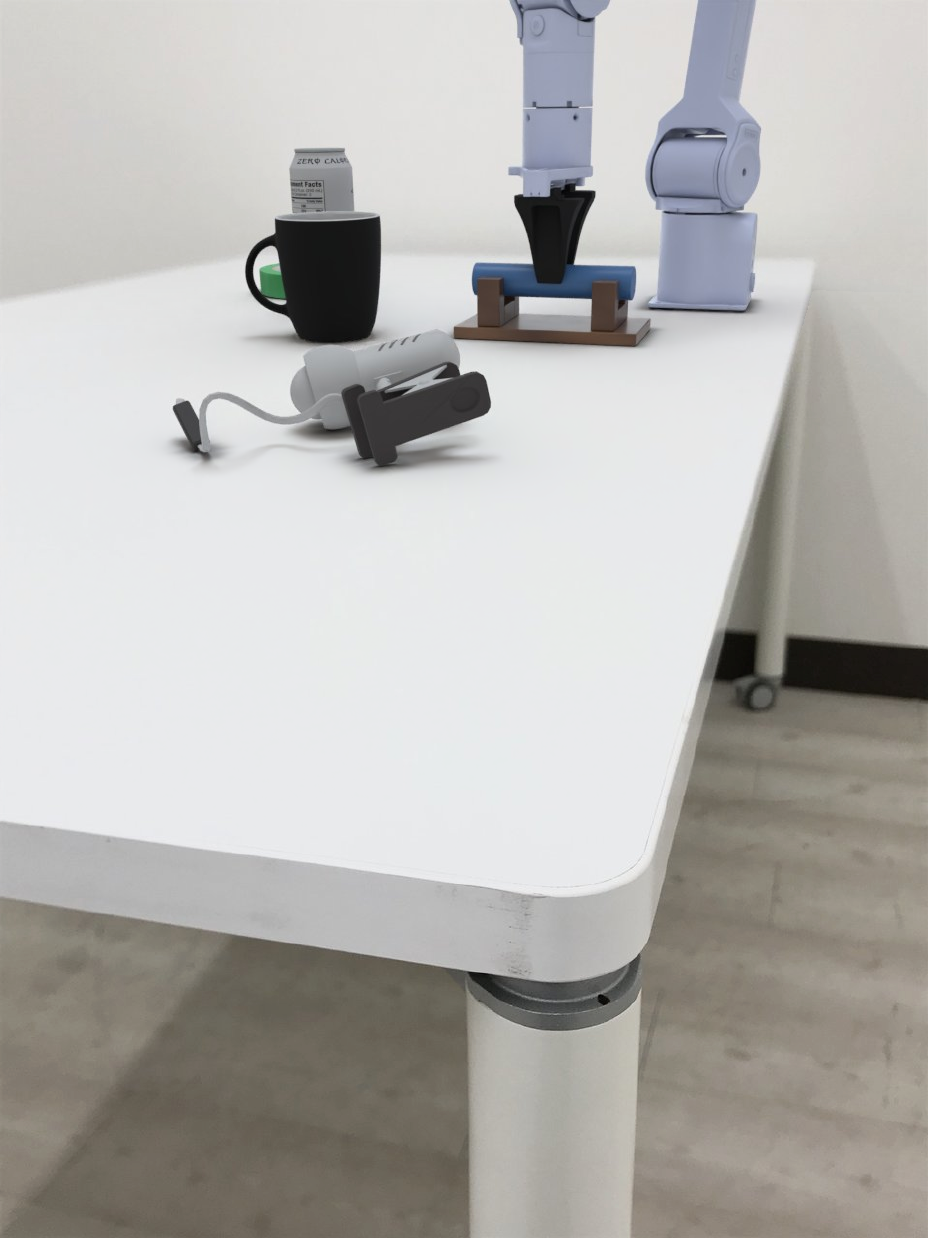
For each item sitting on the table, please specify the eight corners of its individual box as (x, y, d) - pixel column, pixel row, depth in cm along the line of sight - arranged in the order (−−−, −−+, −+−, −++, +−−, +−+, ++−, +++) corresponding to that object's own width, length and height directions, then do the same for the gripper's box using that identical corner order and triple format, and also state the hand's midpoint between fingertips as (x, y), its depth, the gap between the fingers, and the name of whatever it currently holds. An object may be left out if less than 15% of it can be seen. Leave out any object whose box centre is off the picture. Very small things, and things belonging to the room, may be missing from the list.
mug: (390, 327, 102) (386, 210, 98) (379, 345, 94) (373, 219, 90) (262, 327, 103) (252, 211, 98) (239, 346, 95) (227, 221, 90)
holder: (650, 329, 99) (653, 271, 97) (635, 346, 92) (639, 284, 90) (479, 322, 104) (479, 267, 102) (453, 338, 97) (452, 278, 95)
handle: (635, 297, 96) (637, 264, 95) (630, 302, 94) (631, 267, 92) (480, 293, 100) (480, 260, 99) (471, 297, 97) (471, 263, 96)
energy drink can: (370, 310, 111) (362, 147, 105) (316, 316, 108) (305, 149, 102) (341, 302, 116) (332, 146, 109) (289, 308, 113) (277, 148, 106)
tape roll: (355, 298, 118) (354, 272, 117) (252, 299, 118) (250, 274, 117) (365, 284, 128) (364, 260, 127) (270, 285, 128) (268, 261, 127)
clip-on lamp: (193, 529, 62) (502, 440, 62) (151, 424, 58) (478, 332, 59) (196, 452, 72) (463, 376, 72) (161, 359, 68) (441, 281, 69)
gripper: (531, 108, 98) (529, 268, 103) (485, 108, 85) (486, 290, 91) (610, 107, 96) (604, 270, 102) (575, 107, 83) (570, 293, 89)
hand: (554, 280), depth 96 cm, fingers closed on handle, 3 cm apart
